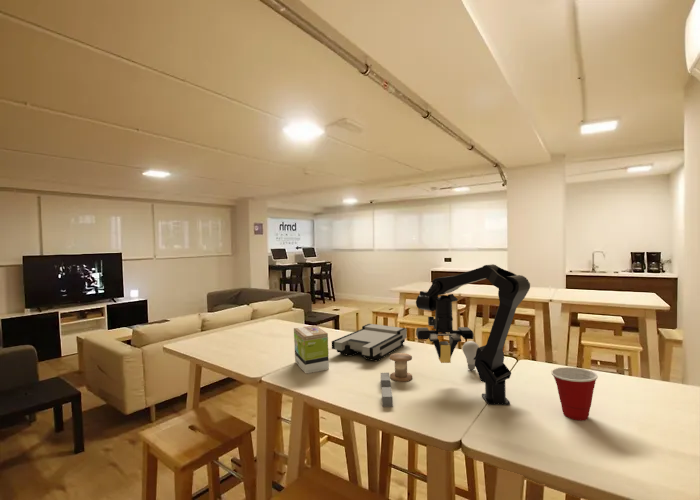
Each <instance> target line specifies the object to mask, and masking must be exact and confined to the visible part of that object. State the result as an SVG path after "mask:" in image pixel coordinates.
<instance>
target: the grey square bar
mask: <svg viewBox="0 0 700 500" xmlns="http://www.w3.org/2000/svg"><path fill="white" fill-rule="evenodd" d="M380 388H381V389H380V390H381V402H382V403H381V404H382V407H383V408H384V407H387V408H390V407H392V408H393V404H394V403H393V400H394V399H393V392H392V387H391V378H390V372H380Z"/></svg>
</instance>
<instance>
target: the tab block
mask: <svg viewBox="0 0 700 500" xmlns="http://www.w3.org/2000/svg"><path fill="white" fill-rule="evenodd" d="M439 344H440V358H439V357H438V360H439V361H440V363H441V364H442V363H443V364H451V362H452V361H451V360H452V356H450V344H449V342H448V341H446V340H445V341H444V340H443V341H440V340H439Z"/></svg>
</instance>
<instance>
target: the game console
mask: <svg viewBox="0 0 700 500" xmlns="http://www.w3.org/2000/svg"><path fill="white" fill-rule="evenodd" d="M407 336H408V335H407V328H406V327H398V326H389V325H385V324H384V325H383V324H375V323H367V324H365V325H362V328H361V329H359V330H356V331H353V332H351V333H349V334H346V335H344V336H342V337H339V338H337V339H334V340H332V341H331V350H335V351H336V353H339V354H340V353H341V354H340V355H344V354H347V355H346V356H349V355H352V356H354V355H355V353H356V354H358V353H361V357H362V358H367V359H366V360H370V359H372V360H371V361H375V360H377V361H376V362H378V361H380V360H382V359H384V358H385V357H387V356H389V355H390V354H392V353H393V352H395V351H397V350H398V349H400V348H402V347H403V346H404V343H405V341H406V340H405V339H407ZM401 346H402V347H401ZM396 349H397V350H396ZM394 350H395V351H394ZM357 352H358V353H357ZM391 352H392V353H391ZM389 353H390V354H389ZM353 354H354V355H353ZM386 355H387V356H386ZM384 356H385V357H384ZM381 358H382V359H381ZM379 359H380V360H379Z"/></svg>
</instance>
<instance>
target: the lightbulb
mask: <svg viewBox="0 0 700 500" xmlns="http://www.w3.org/2000/svg"><path fill="white" fill-rule="evenodd" d="M479 347H480V346H479V345H478V343H477V342H475V341H474V340H468V341H465V342H464V343H463V345H462V352H463V354H464V356H465V359H466V363H467V369H468V370H470V371H474V370H475V369H476V367H475V360H474V358H475V356H476V351H477V348H479Z"/></svg>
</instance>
